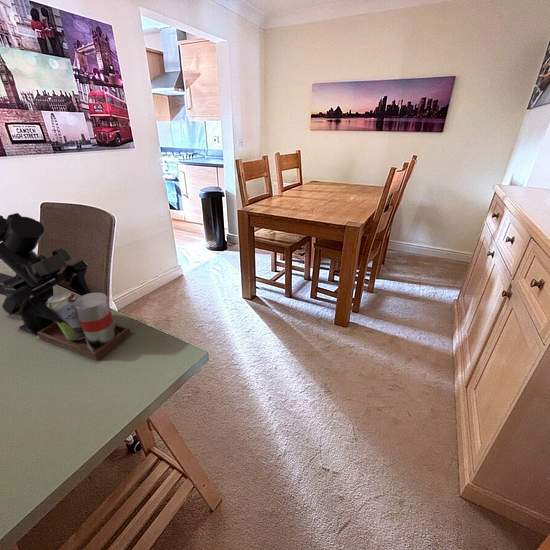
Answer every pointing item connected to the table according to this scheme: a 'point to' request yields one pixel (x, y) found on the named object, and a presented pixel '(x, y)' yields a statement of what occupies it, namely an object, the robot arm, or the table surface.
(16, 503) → the table surface
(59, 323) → the beverage can
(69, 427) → the table surface
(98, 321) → the can
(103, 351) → the drinks tray
